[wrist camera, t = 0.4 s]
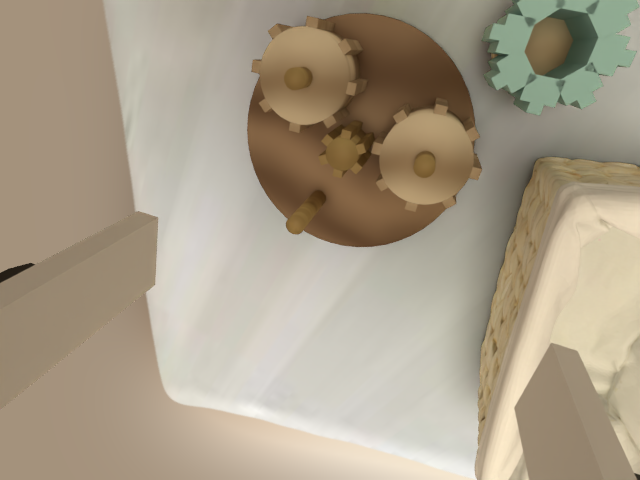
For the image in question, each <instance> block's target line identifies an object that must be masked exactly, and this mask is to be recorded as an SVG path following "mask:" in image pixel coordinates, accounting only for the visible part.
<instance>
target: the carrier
mask: <svg viewBox="0 0 640 480" xmlns="http://www.w3.org/2000/svg"><path fill="white" fill-rule="evenodd" d="M306 26H308V27H306ZM306 26H299V27H291V26H286V25H281V24H276V25H275V26H273V27H272V28H271V29H270V30H269V31H268V32H269V34H270V36H271V37H272V39H273V40H272V41H271V42H270V44H269V45H268V47H267V48H266V50H265V52H264V54H263V57H262V60H253V63H252V72H255V73H259V74H260V77H259V79H258V82H257V84H256V86H255V89H254V92H253V95H252V99H251V102H250V108H249V113H248V127H247V132H248V145H249V151H250V156H251V160H252V163H253V167H254V170H255V173H256V175H257V177H258V179H259V182H260V184H261V186H262V187H263V189H264V191H265V192H266V194H267V196H268V197H269V198H270V200H271V201H272V202H273V204H274V205H275V206H276V207H277V209H278V210H279V211H280V212H281V213H282V214H283V215H284V216H285V217H286V218H288V220H287V222H286V227H287V229H288V231H289V232H290V233H292V234H300V233H301V232H302V231H303V230H304V231H305V232H307V233H309V234H311V235H313V236H315V237H317V238H320V239H322V240H325V241H328V242H331V243H335V244H339V245H344V246H353V247H372V246H379V245H385V244H389V243H393V242H396V241H399V240H402V239H404V238H407V237H409V236H411V235H413V234H415V233H417V232H418V231H420V230H422V229H423V228H425V227H426V226H427V225H429V224H430V223H431V222H433V221H434V220H435V219H436V218H437V217H438V216H439V215H440V214H441V213H442V212H443V211H445V209H447V208H449V207H451V206H453V205H455V204H456V195H457V193H458V191H459V190H460V189H461V188H462V187H463V186H464V185H465V183H466V182H467V180H468V178H471V179H475V180H478V179H479V176H480V173H481V170H482V168H481V165H480V162H479V159H478V157H477V154H474V153H473V149H474V142H475V140H476V139H478V138H479V137H480V136H479V134H478V132H477V130H476V128H475V120H474V113H473V106H472V103H471V99H470V95H469V92H468V89H467V87H466V85H465V82H464V80H463V78H462V76H461V74H460V72H459V71H458V69H457V67H456V66H455V64H454V63H453V61H452V60H451V59H450V57H449V56H448V55H447V54H446V53H445V51H444V50H443V49H442V48H441V47H440V46H439V45H438V44H437V43H435V42H434V41H433V40H432V39H431V38H430V37H429V36H427V35H426V34H424V33H423V32H421V31H419V30H418V29H416V28H415V27H413V26H411V25H408V24H406V23H404V22H402V21H400V20H397V19H393V18H390V17H386V16H382V15H374V14H367V13H364V14H346V15H340V16H334V17H331V18H328V19H325V20H322V19H319V18H314V17H309V16H307V19H306Z"/></svg>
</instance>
